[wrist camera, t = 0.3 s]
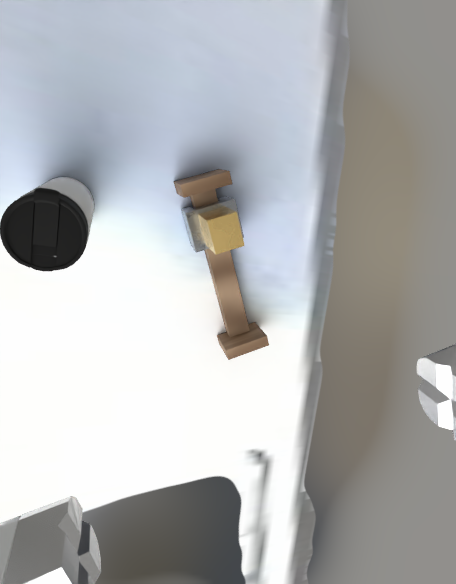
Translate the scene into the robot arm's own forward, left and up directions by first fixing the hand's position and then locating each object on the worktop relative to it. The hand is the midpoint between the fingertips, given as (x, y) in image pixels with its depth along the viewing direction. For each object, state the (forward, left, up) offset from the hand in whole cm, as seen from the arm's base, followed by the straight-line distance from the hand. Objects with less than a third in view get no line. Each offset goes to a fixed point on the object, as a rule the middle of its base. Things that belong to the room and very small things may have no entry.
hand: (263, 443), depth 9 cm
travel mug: (-2, -8, -46) cm, 47 cm away
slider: (+5, +8, -46) cm, 47 cm away
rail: (+11, +8, -46) cm, 48 cm away
